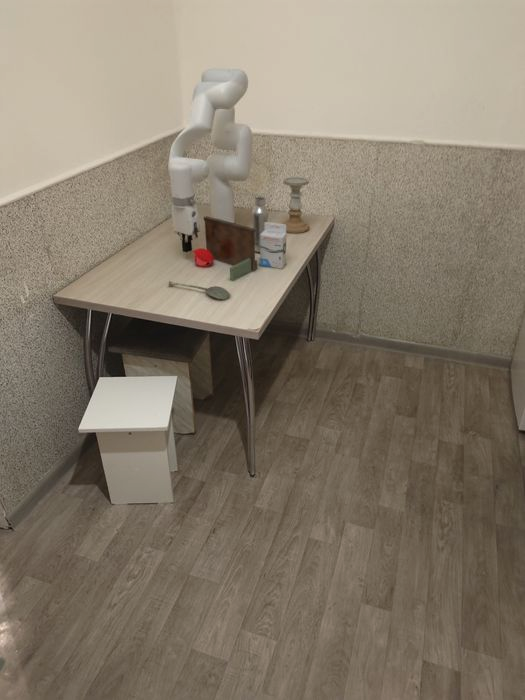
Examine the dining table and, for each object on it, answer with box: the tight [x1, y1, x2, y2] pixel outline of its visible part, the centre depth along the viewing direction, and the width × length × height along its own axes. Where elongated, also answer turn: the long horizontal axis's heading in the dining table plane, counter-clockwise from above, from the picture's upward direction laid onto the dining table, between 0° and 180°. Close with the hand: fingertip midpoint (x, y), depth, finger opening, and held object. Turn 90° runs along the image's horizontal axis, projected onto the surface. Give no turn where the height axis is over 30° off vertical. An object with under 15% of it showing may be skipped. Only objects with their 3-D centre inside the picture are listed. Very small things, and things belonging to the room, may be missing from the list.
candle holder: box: [281, 176, 310, 234], centre depth 211 cm, size 12×12×20 cm
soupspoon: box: [168, 280, 230, 301], centre depth 165 cm, size 22×3×7 cm
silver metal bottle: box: [250, 196, 269, 253], centre depth 190 cm, size 6×7×20 cm
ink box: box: [259, 221, 288, 270], centre depth 180 cm, size 8×5×15 cm, turn 71°
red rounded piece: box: [192, 247, 215, 268], centre depth 182 cm, size 8×6×6 cm
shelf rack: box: [203, 215, 258, 281], centre depth 178 cm, size 23×13×15 cm, turn 52°
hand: (187, 251), depth 186 cm, fingers closed
